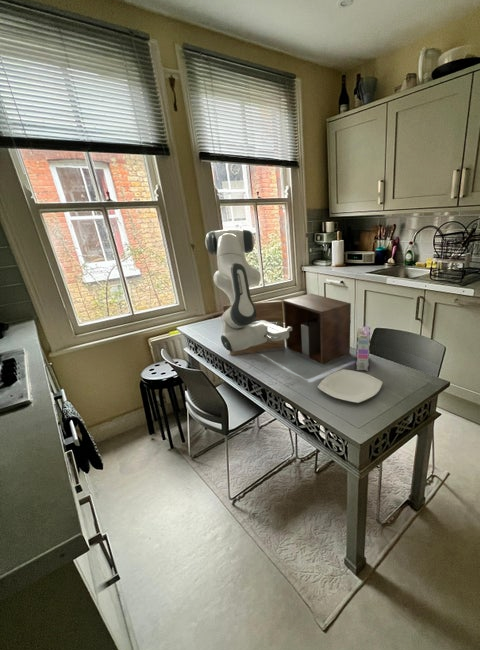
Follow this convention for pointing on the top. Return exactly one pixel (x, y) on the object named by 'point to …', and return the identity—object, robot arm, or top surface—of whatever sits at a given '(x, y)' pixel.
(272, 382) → the top surface
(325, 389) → the plate
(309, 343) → the grey box with handle
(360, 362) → the candy box
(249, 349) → the cupboard door
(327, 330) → the cupboard
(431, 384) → the top surface
